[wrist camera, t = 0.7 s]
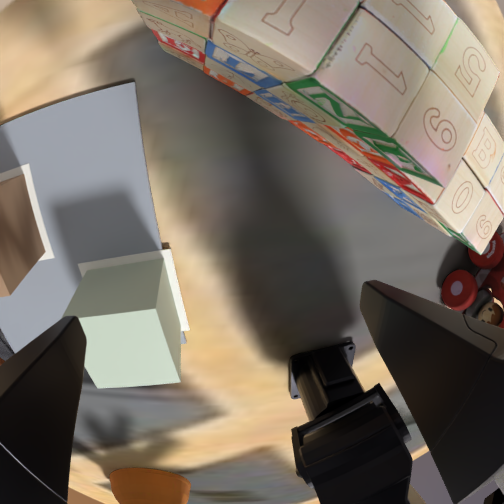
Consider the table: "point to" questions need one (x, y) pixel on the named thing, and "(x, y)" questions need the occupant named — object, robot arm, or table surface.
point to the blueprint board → (80, 202)
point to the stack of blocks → (363, 91)
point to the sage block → (129, 325)
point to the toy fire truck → (479, 285)
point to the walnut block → (17, 234)
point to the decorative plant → (149, 486)
